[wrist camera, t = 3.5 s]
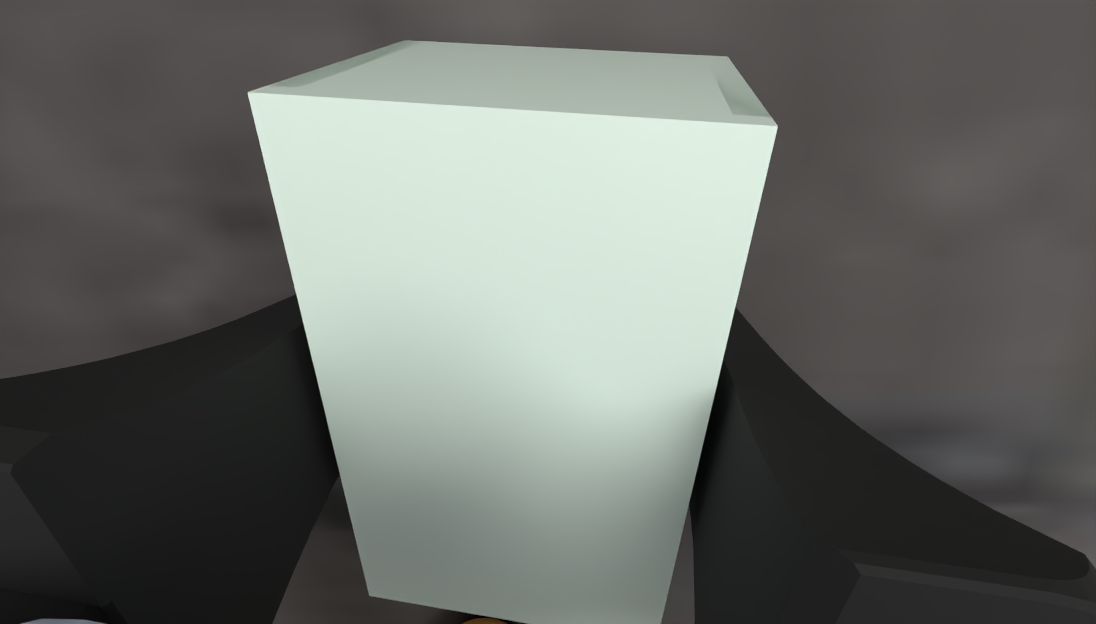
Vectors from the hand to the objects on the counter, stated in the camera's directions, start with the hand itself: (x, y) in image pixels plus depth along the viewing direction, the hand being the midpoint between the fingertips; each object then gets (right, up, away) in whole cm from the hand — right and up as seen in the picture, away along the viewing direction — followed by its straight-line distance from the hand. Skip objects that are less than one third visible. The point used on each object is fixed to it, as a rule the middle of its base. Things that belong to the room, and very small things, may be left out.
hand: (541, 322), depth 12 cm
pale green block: (0, +1, +1) cm, 1 cm away
